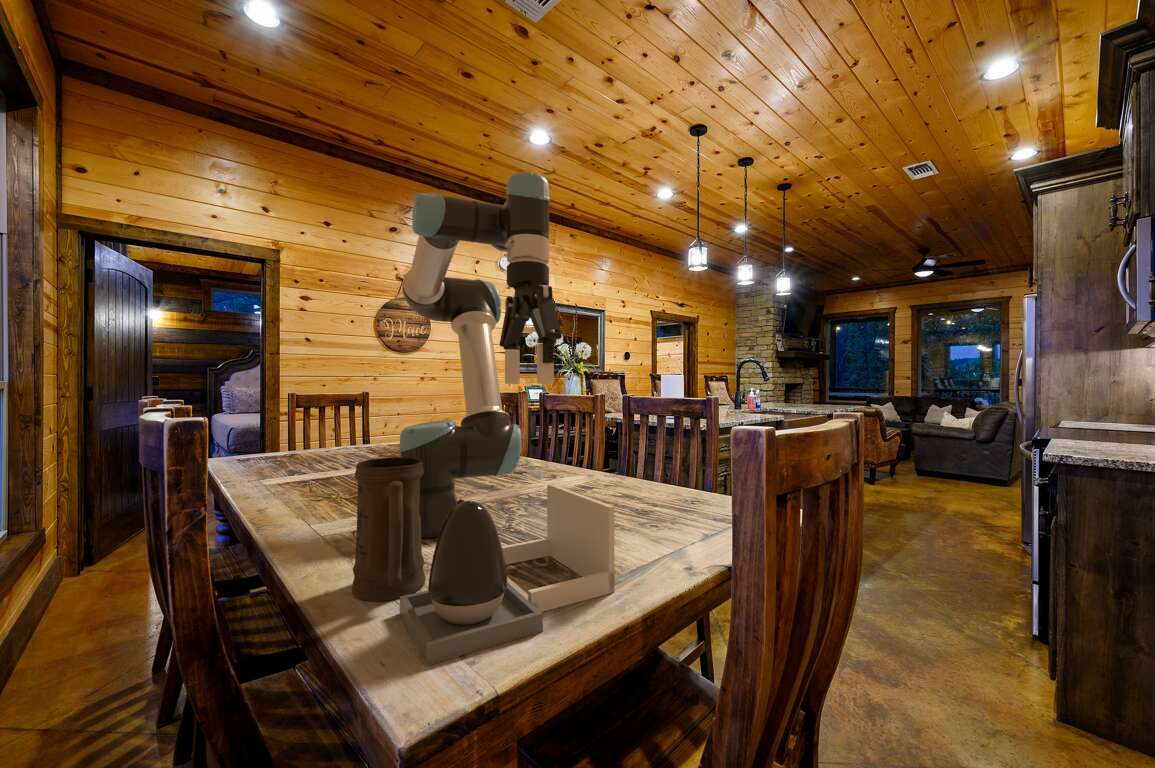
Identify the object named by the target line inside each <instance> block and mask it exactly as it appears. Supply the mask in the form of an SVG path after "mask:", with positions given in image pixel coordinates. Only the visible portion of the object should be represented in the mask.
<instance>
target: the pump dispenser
mask: <svg viewBox="0 0 1155 768" xmlns="http://www.w3.org/2000/svg"><path fill="white" fill-rule="evenodd" d="M457 500H458V501H457V505H456V506H455V507H454V508H453V509H452V510H451V511H450V513H449V514H448V516H447V517H446V519H445V521H444V523H443V526H442V528H441V531H440V534H439V536H438V537H437V541H436V544H435V548H434V551H433V555H432V561H431V566H430V571H429V576H428V577H429V578H428V585H427V586H428V590H427V591H428V593H429V596H430V598H431V599H432V603H433V606H434V608H435V610H436V612H437V613H438V614H439V616H440V617H442V618H443V619H444V620H446V621H448V622H450V623H453V624H459V625H469V624H475V623H478V622H481V621H483V620H485V619H487V618H488V617H490V616H491V615H492V614H493V613H494V612H495V611H496V610H497V609H498V607H499V606H500V604H501V602H502V599H503V596H504V592H505V591H506V589H507V577H508V573H507V567H506V566H507V565H505V559H504V554H503V549H502V546H503V545H502V543H501V538H500V535H499V532H498V531H499V530H497V529H498V528H497V526H496V523H495V520H494V519H493V517H492V516H491V513H490V512H489V510H488V509H487V507H485V505H483V504H482V503H480V502H478V501H475V500H466V501H465V500H464V499H462V498H460V499H457Z"/></svg>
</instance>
